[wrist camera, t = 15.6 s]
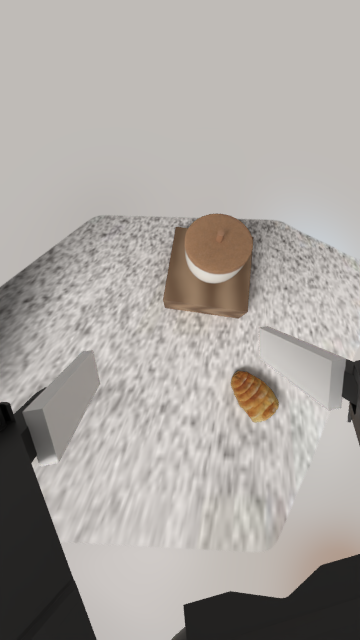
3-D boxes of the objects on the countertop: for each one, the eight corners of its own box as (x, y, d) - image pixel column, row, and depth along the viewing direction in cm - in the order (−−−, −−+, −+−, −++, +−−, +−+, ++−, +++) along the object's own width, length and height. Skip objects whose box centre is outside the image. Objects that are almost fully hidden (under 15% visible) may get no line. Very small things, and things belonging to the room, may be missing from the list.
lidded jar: (197, 236, 39) (203, 195, 30) (246, 256, 38) (267, 220, 29) (173, 278, 36) (172, 246, 27) (225, 301, 35) (242, 276, 26)
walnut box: (165, 308, 42) (162, 299, 36) (176, 244, 45) (175, 226, 39) (237, 318, 41) (247, 312, 36) (243, 253, 45) (253, 237, 39)
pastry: (220, 384, 38) (225, 387, 35) (244, 362, 39) (251, 362, 36) (253, 423, 37) (262, 430, 33) (277, 399, 38) (288, 403, 34)
